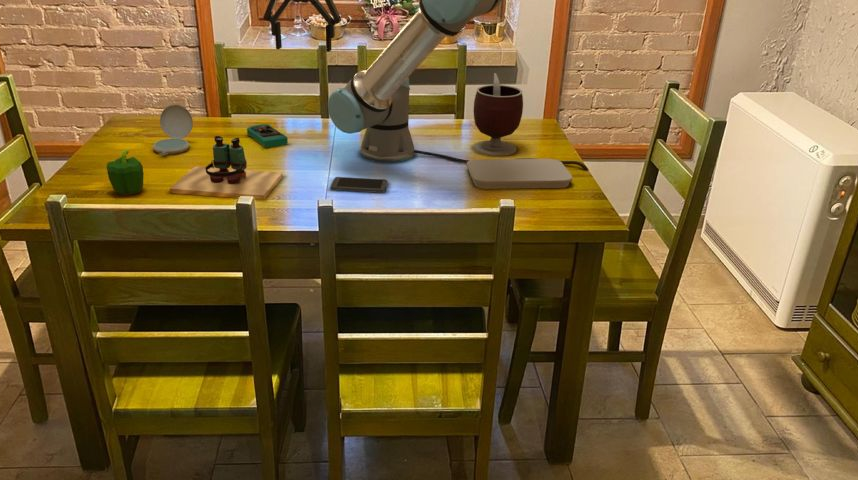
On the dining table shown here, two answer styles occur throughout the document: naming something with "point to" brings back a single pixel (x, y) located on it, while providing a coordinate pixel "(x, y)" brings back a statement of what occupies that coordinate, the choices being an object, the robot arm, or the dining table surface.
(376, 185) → the cell phone
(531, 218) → the dining table surface
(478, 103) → the mate gourd
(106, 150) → the dining table surface
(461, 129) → the dining table surface
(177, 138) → the grey compact mirror
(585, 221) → the dining table surface
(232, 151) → the binoculars
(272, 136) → the digital multimeter
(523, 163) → the tablet
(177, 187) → the serving board
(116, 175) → the bell pepper
